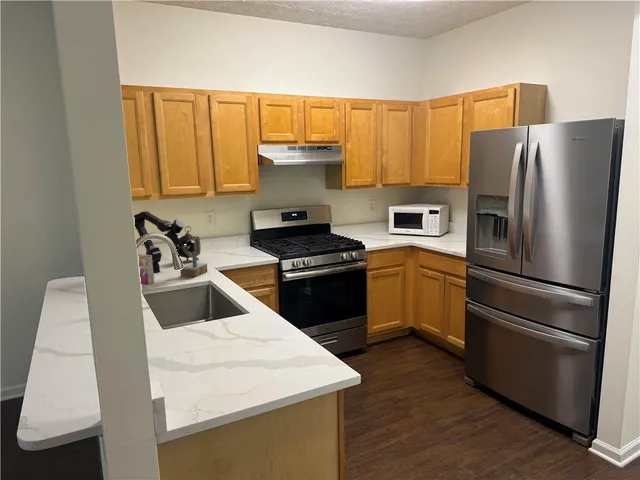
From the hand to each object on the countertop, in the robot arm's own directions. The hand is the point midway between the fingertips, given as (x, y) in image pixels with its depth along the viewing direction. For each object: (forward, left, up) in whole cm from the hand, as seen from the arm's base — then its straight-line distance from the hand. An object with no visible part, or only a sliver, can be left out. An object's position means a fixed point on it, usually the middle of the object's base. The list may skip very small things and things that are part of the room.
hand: (192, 256), depth 262 cm
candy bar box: (-28, +7, -12) cm, 31 cm away
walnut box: (+2, +4, -12) cm, 13 cm away
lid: (+2, +4, -7) cm, 8 cm away
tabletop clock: (+19, +42, -12) cm, 48 cm away
